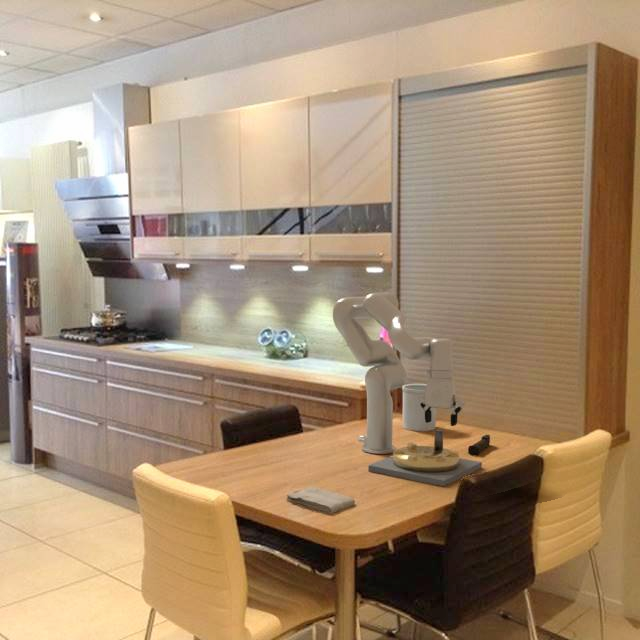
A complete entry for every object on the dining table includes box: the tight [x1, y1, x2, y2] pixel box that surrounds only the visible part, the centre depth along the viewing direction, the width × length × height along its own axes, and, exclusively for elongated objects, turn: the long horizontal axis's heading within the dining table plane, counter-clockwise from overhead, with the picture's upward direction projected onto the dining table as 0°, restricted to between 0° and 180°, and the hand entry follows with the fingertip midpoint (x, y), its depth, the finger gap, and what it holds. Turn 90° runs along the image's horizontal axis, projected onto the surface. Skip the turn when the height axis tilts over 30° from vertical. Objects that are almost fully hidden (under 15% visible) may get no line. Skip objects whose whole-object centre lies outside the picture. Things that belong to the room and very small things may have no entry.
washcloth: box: [285, 486, 356, 515], centre depth 224 cm, size 12×18×3 cm, turn 50°
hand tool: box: [467, 434, 491, 456], centre depth 288 cm, size 19×4×5 cm, turn 148°
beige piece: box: [392, 429, 460, 472], centre depth 260 cm, size 22×22×9 cm
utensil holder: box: [401, 383, 437, 432], centre depth 324 cm, size 15×15×18 cm
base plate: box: [367, 455, 483, 487], centre depth 261 cm, size 28×28×2 cm
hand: (440, 423), depth 266 cm, fingers open, 9 cm apart
